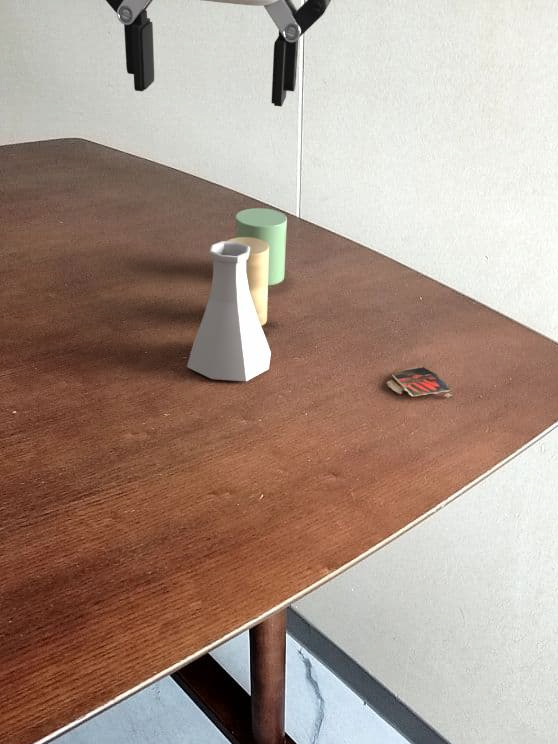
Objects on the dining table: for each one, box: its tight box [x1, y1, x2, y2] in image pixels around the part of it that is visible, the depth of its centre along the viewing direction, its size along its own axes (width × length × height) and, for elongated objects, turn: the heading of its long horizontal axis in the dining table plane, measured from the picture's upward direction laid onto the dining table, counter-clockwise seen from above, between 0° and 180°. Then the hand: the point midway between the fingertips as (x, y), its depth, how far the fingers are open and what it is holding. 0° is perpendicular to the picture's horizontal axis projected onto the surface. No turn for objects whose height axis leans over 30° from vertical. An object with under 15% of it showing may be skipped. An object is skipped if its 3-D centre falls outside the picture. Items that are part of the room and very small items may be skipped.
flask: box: [186, 240, 272, 382], centre depth 71 cm, size 7×7×10 cm
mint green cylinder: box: [235, 207, 288, 287], centre depth 86 cm, size 5×5×6 cm
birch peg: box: [227, 237, 269, 327], centre depth 78 cm, size 4×4×7 cm
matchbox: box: [386, 365, 457, 398], centre depth 72 cm, size 5×5×1 cm
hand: (211, 93), depth 61 cm, fingers open, 9 cm apart
